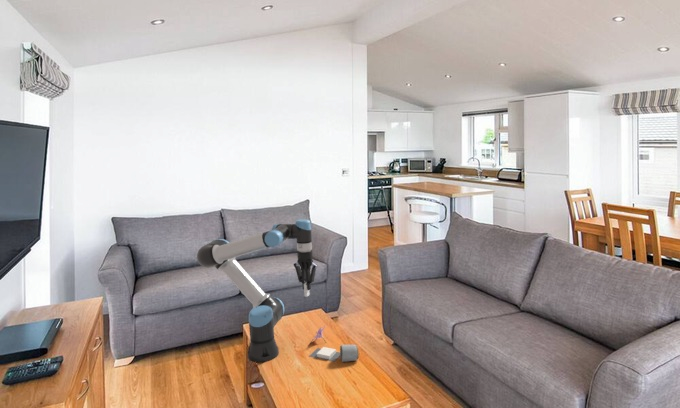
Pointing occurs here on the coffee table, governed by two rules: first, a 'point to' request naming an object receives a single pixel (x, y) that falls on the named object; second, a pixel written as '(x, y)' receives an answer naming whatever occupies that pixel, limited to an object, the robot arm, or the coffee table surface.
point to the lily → (319, 334)
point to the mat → (324, 358)
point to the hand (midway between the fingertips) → (307, 295)
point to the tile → (326, 353)
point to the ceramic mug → (349, 353)
